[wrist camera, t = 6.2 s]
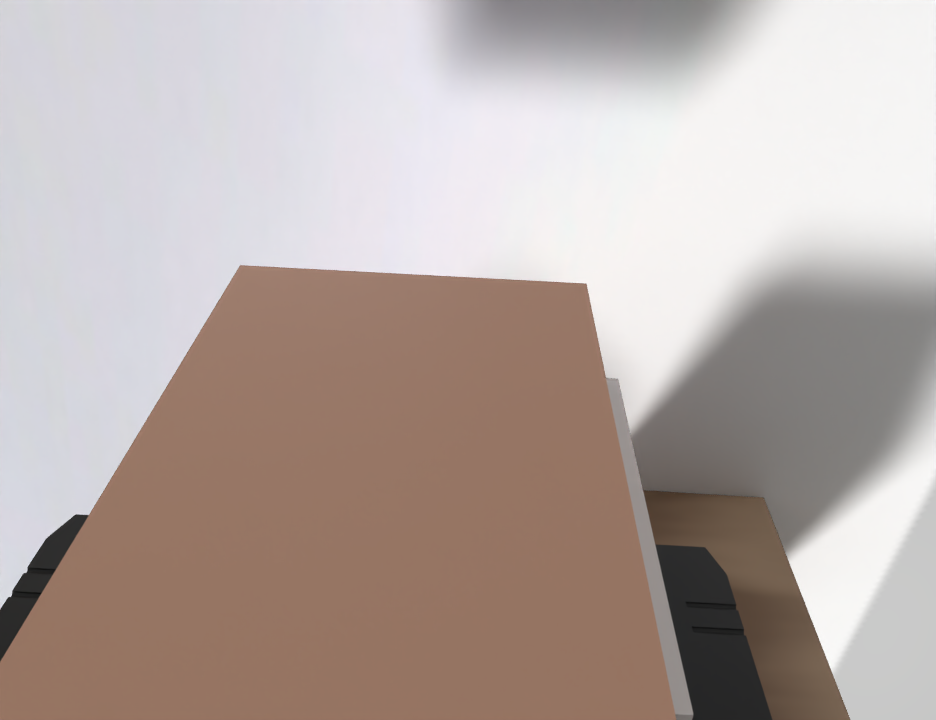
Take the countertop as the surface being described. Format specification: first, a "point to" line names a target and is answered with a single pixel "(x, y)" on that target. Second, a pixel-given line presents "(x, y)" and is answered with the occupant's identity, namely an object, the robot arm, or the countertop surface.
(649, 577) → the robot arm
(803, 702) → the walnut block
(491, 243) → the countertop surface
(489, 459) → the terracotta block
